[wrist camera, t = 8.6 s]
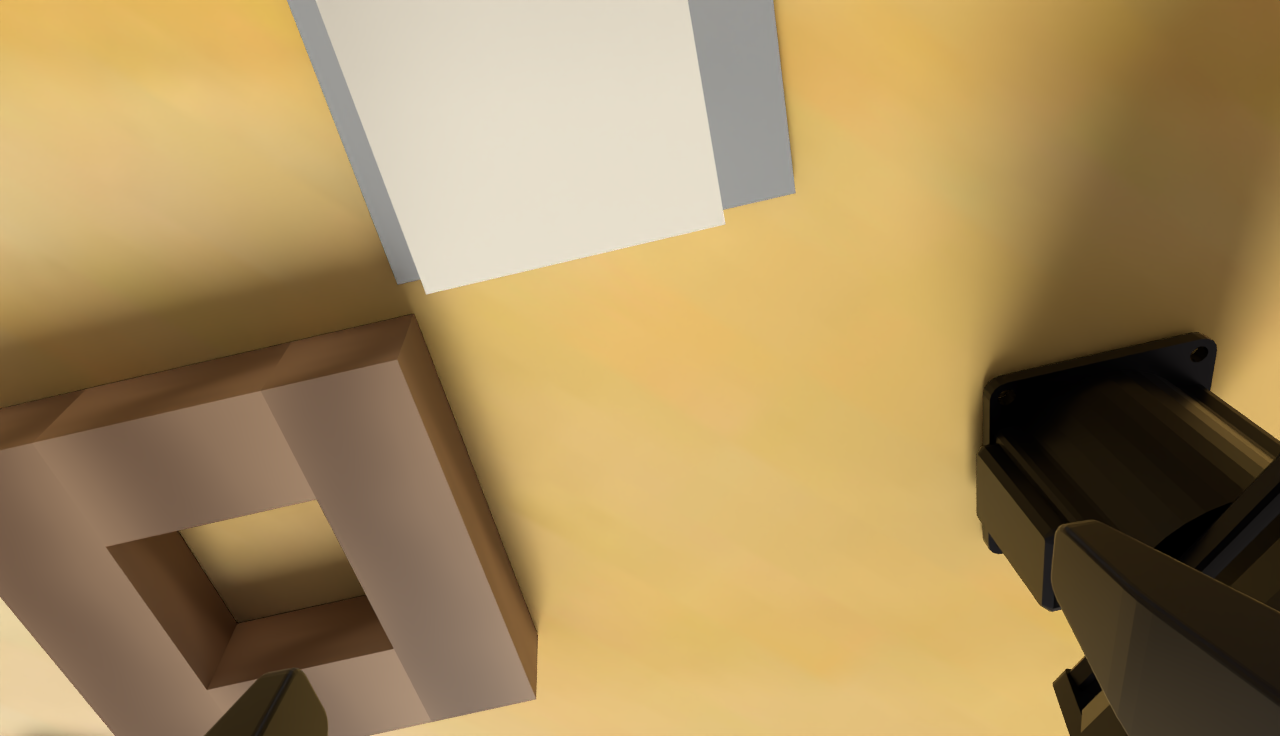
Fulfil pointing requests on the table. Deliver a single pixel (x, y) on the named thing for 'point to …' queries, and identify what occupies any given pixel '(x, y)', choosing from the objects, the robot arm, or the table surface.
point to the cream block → (529, 127)
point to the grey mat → (733, 92)
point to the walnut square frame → (250, 483)
